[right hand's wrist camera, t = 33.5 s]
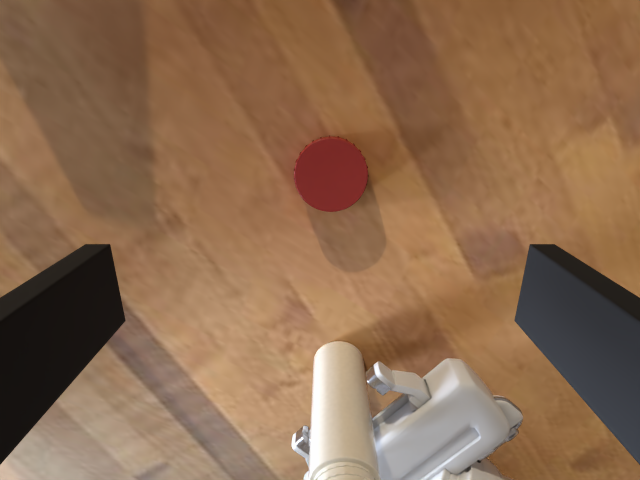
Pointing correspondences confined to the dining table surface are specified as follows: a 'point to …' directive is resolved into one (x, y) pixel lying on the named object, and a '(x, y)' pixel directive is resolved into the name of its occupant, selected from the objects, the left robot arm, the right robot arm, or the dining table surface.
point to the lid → (330, 174)
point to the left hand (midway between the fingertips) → (333, 404)
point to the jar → (341, 417)
